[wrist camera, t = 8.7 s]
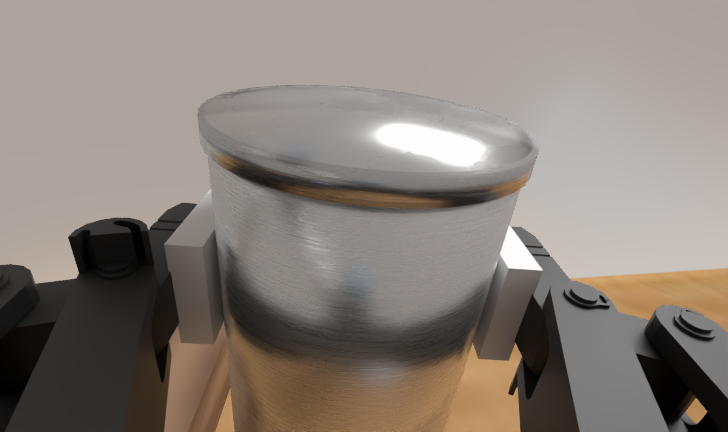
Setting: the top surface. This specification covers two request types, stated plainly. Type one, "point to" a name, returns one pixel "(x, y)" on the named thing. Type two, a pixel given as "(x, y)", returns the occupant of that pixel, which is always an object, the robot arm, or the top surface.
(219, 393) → the walnut block
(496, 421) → the top surface
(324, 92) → the food tin
